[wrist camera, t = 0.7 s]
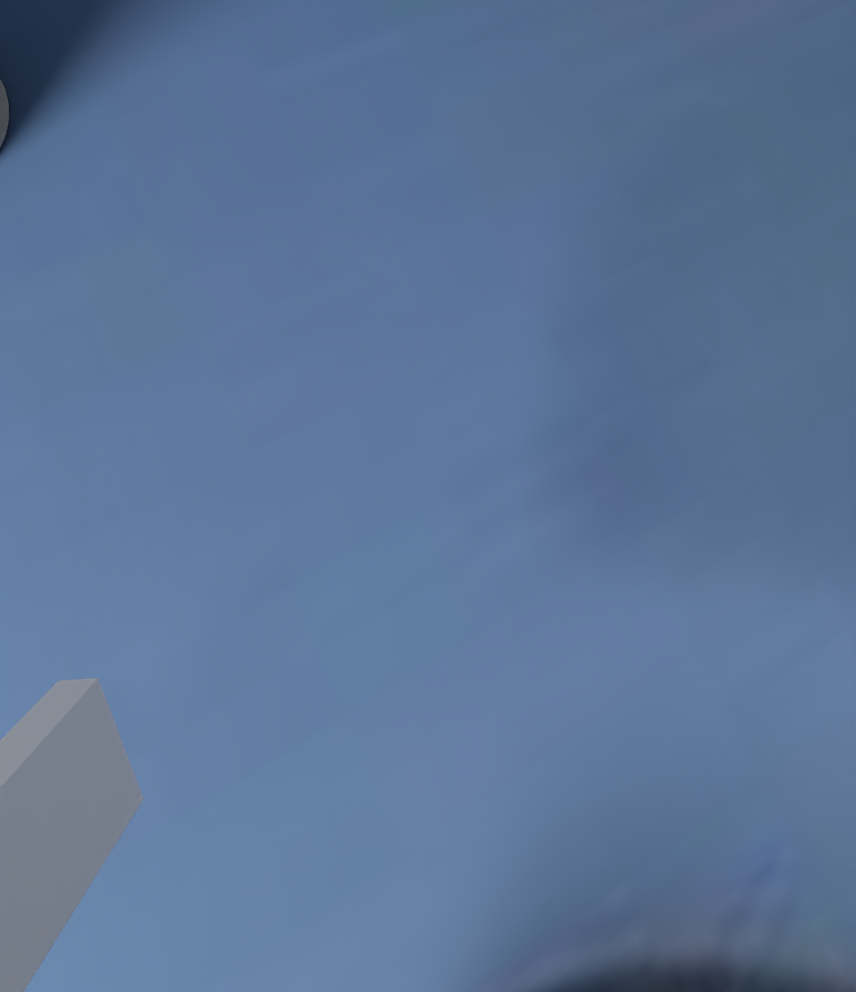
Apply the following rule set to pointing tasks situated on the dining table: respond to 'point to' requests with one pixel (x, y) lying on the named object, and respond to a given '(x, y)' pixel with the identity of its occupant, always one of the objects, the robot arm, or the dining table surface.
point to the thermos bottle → (3, 113)
